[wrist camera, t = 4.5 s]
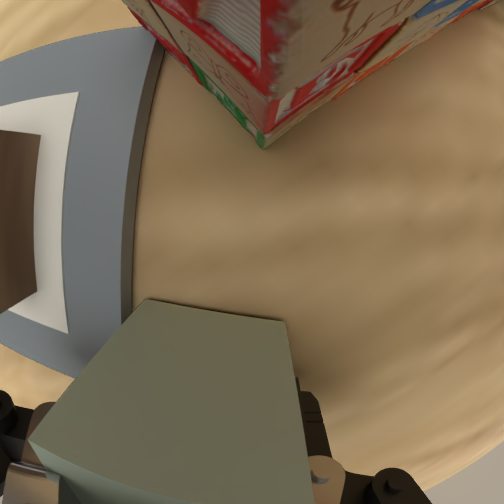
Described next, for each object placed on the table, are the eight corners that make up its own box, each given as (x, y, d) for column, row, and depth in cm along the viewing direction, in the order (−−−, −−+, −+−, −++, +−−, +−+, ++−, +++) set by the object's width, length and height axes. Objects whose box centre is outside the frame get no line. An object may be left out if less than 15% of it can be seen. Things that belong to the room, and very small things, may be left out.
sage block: (285, 321, 10) (315, 509, 3) (261, 418, 11) (260, 563, 4) (145, 298, 10) (27, 439, 3) (148, 398, 11) (92, 527, 4)
